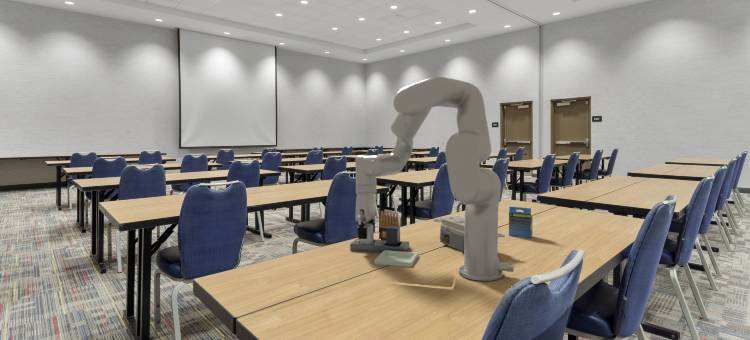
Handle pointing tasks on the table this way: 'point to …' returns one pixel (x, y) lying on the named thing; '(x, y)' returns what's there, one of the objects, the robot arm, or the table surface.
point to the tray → (396, 258)
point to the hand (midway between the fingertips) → (366, 235)
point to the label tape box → (520, 222)
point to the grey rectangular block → (368, 235)
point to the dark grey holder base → (383, 242)
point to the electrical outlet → (453, 232)
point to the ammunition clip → (387, 223)
